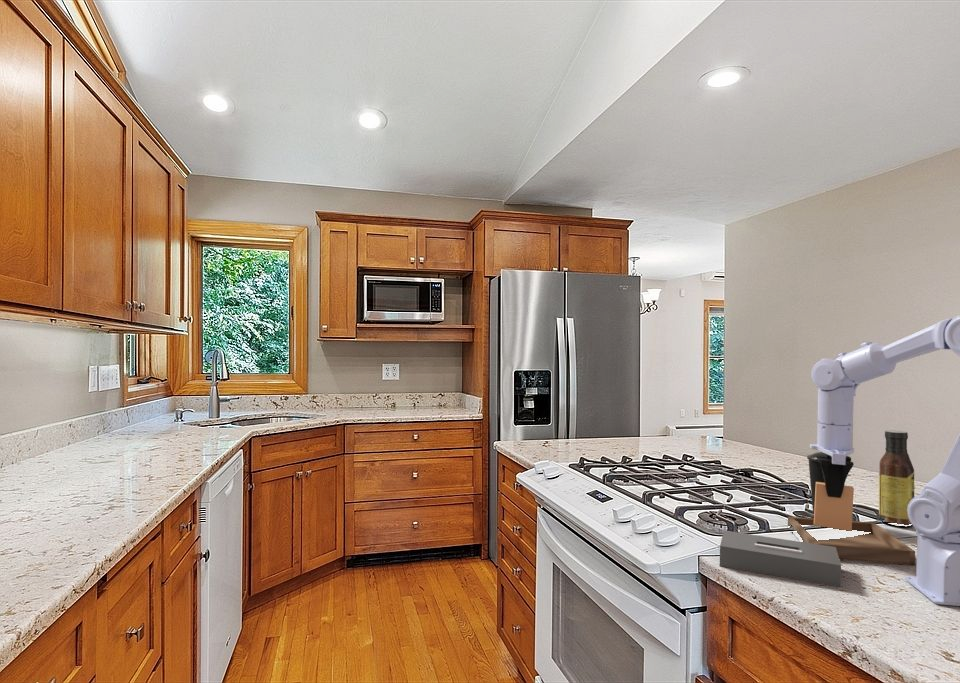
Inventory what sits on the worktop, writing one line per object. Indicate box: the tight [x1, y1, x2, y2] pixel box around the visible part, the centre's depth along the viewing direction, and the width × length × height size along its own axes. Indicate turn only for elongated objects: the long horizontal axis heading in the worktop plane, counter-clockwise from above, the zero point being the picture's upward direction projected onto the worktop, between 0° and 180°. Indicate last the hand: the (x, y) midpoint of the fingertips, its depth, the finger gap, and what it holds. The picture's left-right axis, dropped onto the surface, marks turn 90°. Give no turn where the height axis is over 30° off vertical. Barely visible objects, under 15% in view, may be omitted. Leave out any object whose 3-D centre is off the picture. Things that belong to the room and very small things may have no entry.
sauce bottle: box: [878, 429, 916, 525], centre depth 126 cm, size 7×6×20 cm
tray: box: [787, 516, 916, 566], centre depth 112 cm, size 16×16×2 cm
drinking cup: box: [806, 451, 826, 513], centre depth 127 cm, size 8×8×20 cm
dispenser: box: [719, 530, 842, 588], centre depth 102 cm, size 18×9×4 cm, turn 63°
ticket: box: [814, 482, 855, 531], centre depth 110 cm, size 6×2×8 cm, turn 64°
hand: (833, 495), depth 110 cm, fingers closed on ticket, 1 cm apart
